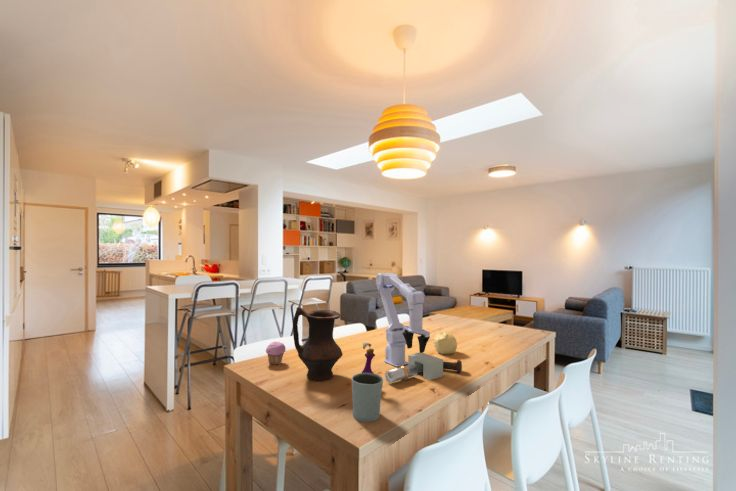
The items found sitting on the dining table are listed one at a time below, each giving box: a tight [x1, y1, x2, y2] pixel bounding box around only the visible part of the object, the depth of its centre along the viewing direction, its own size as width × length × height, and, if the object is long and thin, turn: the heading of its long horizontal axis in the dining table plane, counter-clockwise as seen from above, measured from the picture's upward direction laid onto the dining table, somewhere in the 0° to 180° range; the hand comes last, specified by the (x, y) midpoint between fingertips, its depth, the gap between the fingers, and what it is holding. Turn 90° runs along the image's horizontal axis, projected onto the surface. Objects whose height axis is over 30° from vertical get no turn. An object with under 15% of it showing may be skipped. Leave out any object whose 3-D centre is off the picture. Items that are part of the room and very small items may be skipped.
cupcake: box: [265, 341, 286, 365], centre depth 157 cm, size 9×9×10 cm
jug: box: [292, 305, 344, 382], centre depth 141 cm, size 21×18×30 cm
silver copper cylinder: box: [384, 364, 419, 384], centre depth 138 cm, size 6×14×6 cm, turn 127°
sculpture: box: [433, 331, 458, 355], centre depth 177 cm, size 12×12×11 cm
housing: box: [407, 352, 444, 381], centre depth 146 cm, size 13×8×7 cm, turn 37°
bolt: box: [443, 359, 463, 374], centre depth 151 cm, size 6×5×15 cm
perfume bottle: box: [361, 342, 376, 374], centre depth 128 cm, size 8×8×18 cm
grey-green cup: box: [351, 372, 384, 423], centre depth 108 cm, size 10×10×12 cm
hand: (415, 350), depth 147 cm, fingers open, 7 cm apart
